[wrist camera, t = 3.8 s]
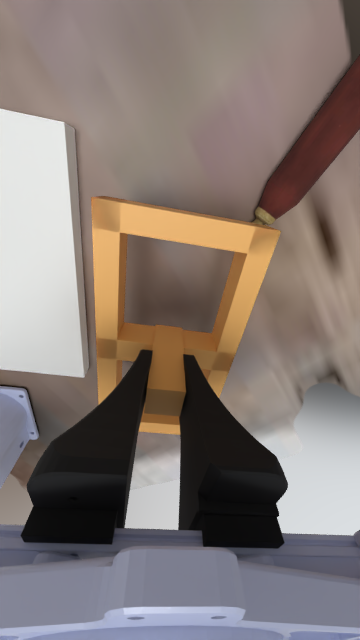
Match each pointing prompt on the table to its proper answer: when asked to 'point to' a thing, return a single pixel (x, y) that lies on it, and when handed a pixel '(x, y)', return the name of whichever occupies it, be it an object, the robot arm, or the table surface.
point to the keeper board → (40, 249)
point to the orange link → (167, 341)
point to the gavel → (314, 149)
